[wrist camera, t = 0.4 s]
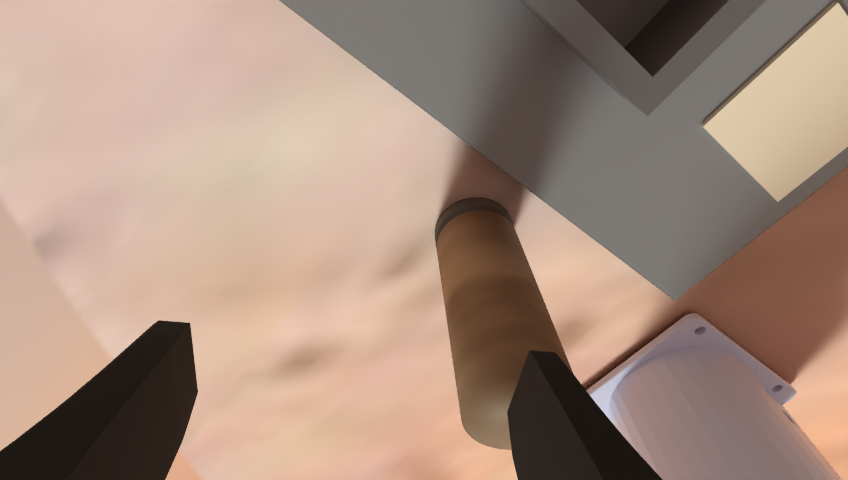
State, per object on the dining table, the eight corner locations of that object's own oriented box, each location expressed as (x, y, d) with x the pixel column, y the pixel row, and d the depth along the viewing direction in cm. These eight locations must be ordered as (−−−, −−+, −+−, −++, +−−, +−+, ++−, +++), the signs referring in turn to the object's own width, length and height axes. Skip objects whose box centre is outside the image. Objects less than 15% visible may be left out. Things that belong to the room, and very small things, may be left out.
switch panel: (1020, 2, 17) (1156, 20, 14) (664, 286, 23) (706, 342, 20) (664, -703, 10) (790, -983, 7) (271, -15, 16) (242, 1, 13)
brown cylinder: (528, 224, 21) (607, 401, 13) (476, 275, 22) (522, 463, 15) (469, 182, 20) (520, 349, 12) (419, 239, 21) (436, 422, 13)
